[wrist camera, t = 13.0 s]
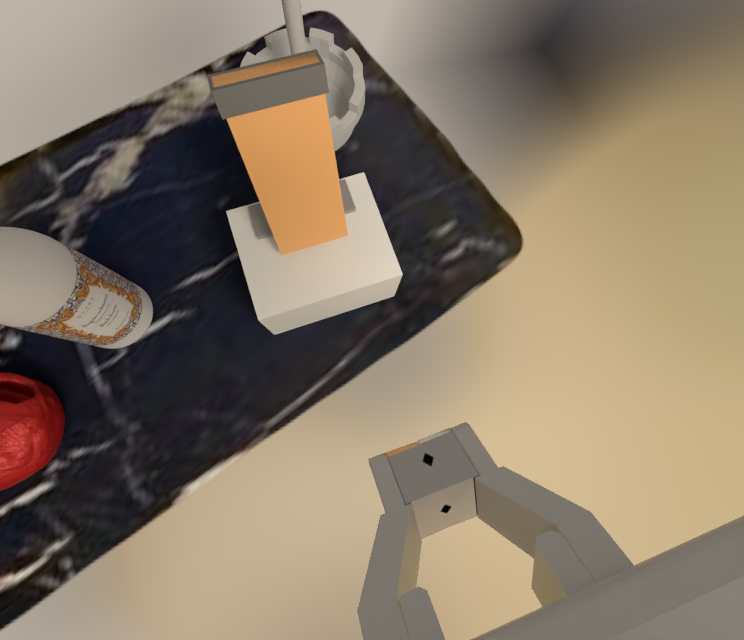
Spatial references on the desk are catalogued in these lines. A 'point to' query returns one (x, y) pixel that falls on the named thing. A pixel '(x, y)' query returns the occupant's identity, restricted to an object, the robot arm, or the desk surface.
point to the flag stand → (339, 65)
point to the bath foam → (67, 293)
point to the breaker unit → (317, 264)
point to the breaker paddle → (286, 145)
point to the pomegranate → (27, 427)
